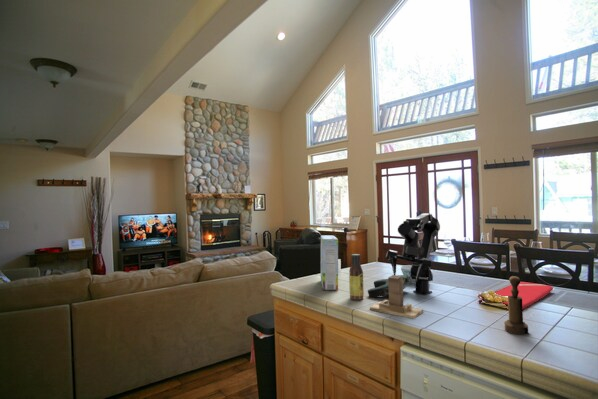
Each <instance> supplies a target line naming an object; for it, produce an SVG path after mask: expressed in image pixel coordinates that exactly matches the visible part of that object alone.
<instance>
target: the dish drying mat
mask: <svg viewBox="0 0 598 399" xmlns="http://www.w3.org/2000/svg"><path fill="white" fill-rule="evenodd" d="M517 288H518V290H519V293H518V296H519V297H522V309H523V310H524V309H526V308H528V307H529V305H530V306H531V305H533V304H535V303H536V302H538V301H539V299H540V300H542V299H543V298H544V297H546V296H547V295H549V294H550V293H551V292H552V291H553V290H554V286H552V285H549V284H548V285H547V284H541V283H534V282H527V281H520V283H519V285H518V287H517ZM511 289H512V285H511V284H510V285H508V286H505V287H503V288H500V289H499V290H495V291H494V292H495V293H496V294H498V295H501V296H512V293H511ZM481 302H482V300H481V299H479V300H478V303H479V304H480V303H481ZM534 302H535V303H534ZM502 303H503V304H505V305H506V306H508V302H502ZM532 303H533V304H532ZM527 306H528V307H527ZM525 307H526V308H525Z"/></svg>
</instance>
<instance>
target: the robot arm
mask: <svg viewBox="0 0 598 399" xmlns="http://www.w3.org/2000/svg"><path fill="white" fill-rule="evenodd" d="M440 230H441V223H440V221H439V220H438V218H436V217H434V215H433V214H432V213H428V212H427V213H424V212H423V213H421V214H419V215H418V216H416V217H407V218H406V219H405V220H403V222H402V223H400V224H399V226H398V227H397V232H398V233H399V235H400V236H401V237H402V238H403V239H404V241H403V248H402V253H401V254H399V253H398V251H397V250H392V249H388V250H387V252H386V254H385V259H387V261H388V262H390V265H391V267H392V273H393V275H396V273H397V262H398V260H402V261H404V262H405V261H406V262H410V263H412V264H411V265H412V267H411V277H412V279H416V280H415V282H416V283H414V284H415V288H414V289H415V290H412V293H416V294H420V295H428V294H432V293H433V291H432V290H430V282H431V281H434V274H433V271H432V269H431V267H433V261H432V259H431V258H430V254H431V251H432V245H433V240H434V238H436V236H438V234H439V231H440ZM417 231H418V232H421V231H422V233H423V236H422V239H421V240H422V241H421V244H420V246H419V239H420V234H419V233H418V232H417Z"/></svg>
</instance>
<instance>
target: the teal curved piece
mask: <svg viewBox="0 0 598 399" xmlns="http://www.w3.org/2000/svg"><path fill="white" fill-rule="evenodd" d="M397 276H403V290H405V289H406V287H407V286H410V284H413V283H412V282H414V280H413V281H412V282H411V281H409V279H410V277H411V276H408V275H403V274H400V275H399V274H398V275H397ZM373 285H374V287H372V288H370V289H368V290H367V294H368V297H369V298H372V297H373V298H376V297H386V296H389V287H388V278H385V279H378V280H374V281H373Z"/></svg>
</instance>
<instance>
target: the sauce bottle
mask: <svg viewBox="0 0 598 399" xmlns="http://www.w3.org/2000/svg"><path fill="white" fill-rule="evenodd" d="M350 259H351V265H350V267H349V276H348V278H349V279H348V280H349V298H350V299H351V300H354V301H360V300H363V299H364V296H365V295H364V294H365V293H364V271H363V269H362V268H363V267H362V265H361V254H360V253H359V254H358V253H353V254H351V257H350Z"/></svg>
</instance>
